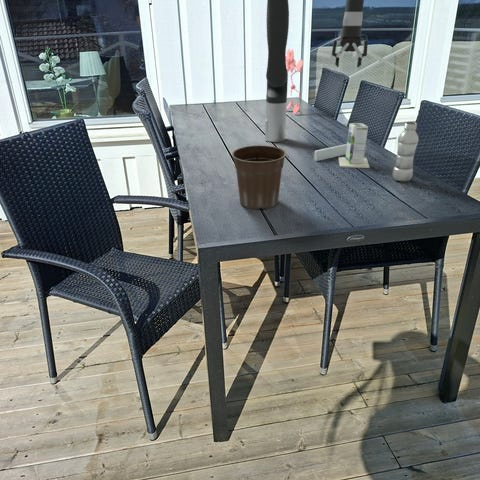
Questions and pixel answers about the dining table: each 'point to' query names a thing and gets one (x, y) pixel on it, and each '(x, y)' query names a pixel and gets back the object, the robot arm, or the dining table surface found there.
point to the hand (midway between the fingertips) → (347, 67)
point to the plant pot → (259, 175)
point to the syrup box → (356, 143)
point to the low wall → (330, 152)
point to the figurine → (289, 64)
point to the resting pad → (359, 165)
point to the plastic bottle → (406, 152)
